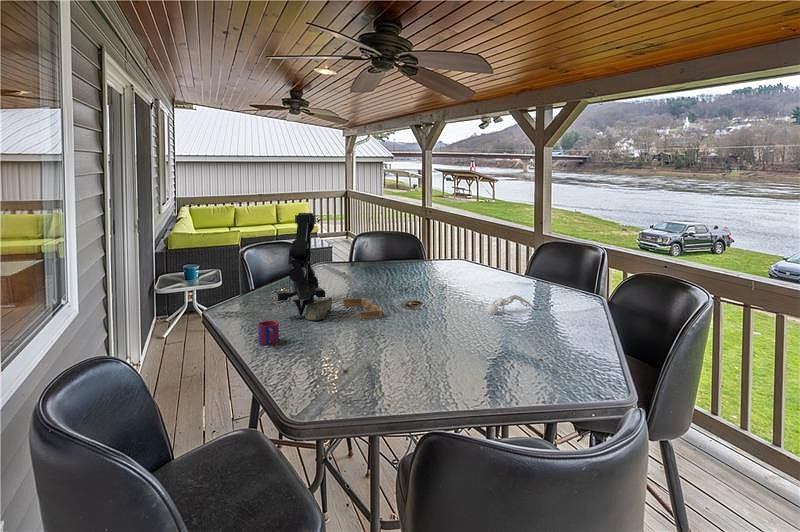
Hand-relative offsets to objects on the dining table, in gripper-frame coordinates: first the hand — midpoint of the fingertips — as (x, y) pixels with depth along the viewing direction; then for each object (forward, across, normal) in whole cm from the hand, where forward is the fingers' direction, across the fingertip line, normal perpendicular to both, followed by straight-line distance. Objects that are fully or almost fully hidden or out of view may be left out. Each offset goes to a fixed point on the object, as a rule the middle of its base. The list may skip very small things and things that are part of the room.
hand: (301, 315), depth 205 cm
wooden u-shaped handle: (+1, +25, 0) cm, 25 cm away
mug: (+1, -17, -27) cm, 32 cm away
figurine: (+2, +86, -21) cm, 88 cm away
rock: (+2, +7, 0) cm, 7 cm away
